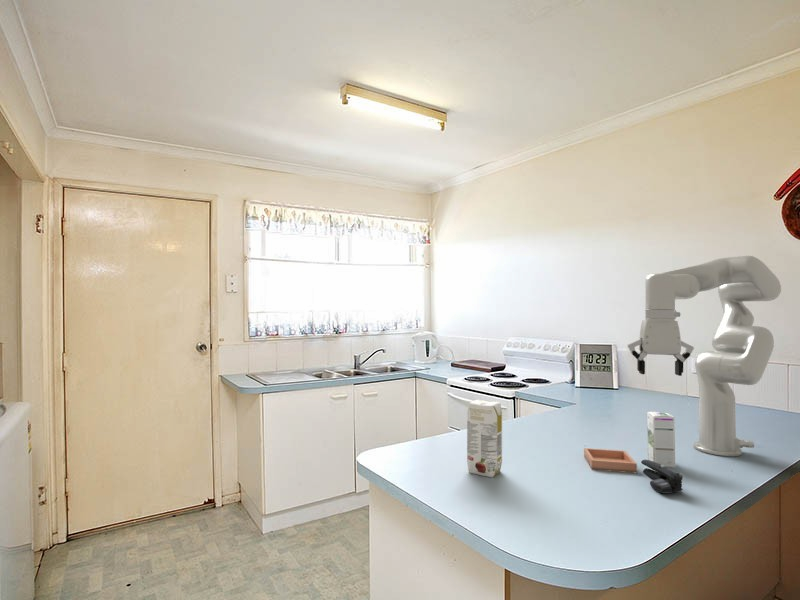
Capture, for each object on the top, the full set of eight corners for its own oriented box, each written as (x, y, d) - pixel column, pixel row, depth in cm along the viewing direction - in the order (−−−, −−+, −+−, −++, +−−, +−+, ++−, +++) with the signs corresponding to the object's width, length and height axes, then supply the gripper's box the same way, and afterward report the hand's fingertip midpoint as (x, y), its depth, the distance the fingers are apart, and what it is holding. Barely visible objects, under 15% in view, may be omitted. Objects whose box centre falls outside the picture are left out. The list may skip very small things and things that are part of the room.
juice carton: (494, 479, 118) (494, 406, 119) (464, 473, 123) (464, 402, 123) (504, 470, 124) (504, 401, 125) (475, 465, 129) (475, 398, 129)
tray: (625, 459, 135) (625, 450, 135) (636, 472, 124) (636, 463, 124) (584, 456, 138) (584, 448, 138) (591, 469, 126) (591, 460, 126)
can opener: (690, 499, 107) (690, 475, 107) (659, 497, 108) (659, 473, 108) (658, 472, 125) (658, 452, 125) (631, 471, 126) (631, 451, 126)
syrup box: (676, 467, 128) (675, 416, 128) (653, 466, 129) (653, 415, 129) (668, 461, 134) (668, 412, 134) (646, 459, 135) (646, 411, 135)
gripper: (687, 316, 134) (687, 374, 134) (624, 315, 138) (624, 371, 137) (698, 316, 127) (698, 377, 126) (631, 315, 130) (631, 374, 130)
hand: (660, 374), depth 132 cm, fingers open, 9 cm apart
